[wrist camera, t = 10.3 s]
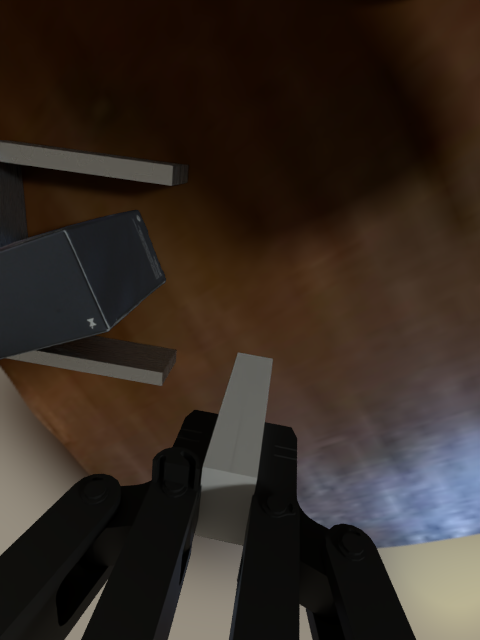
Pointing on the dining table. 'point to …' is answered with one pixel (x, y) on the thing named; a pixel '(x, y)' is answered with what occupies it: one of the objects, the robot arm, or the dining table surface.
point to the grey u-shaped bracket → (10, 226)
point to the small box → (74, 281)
